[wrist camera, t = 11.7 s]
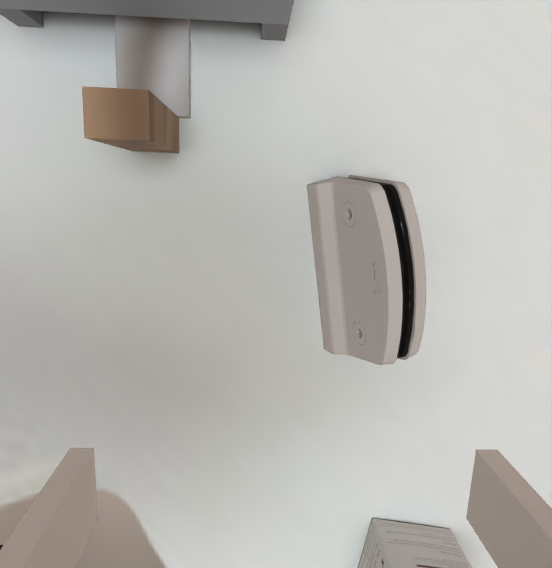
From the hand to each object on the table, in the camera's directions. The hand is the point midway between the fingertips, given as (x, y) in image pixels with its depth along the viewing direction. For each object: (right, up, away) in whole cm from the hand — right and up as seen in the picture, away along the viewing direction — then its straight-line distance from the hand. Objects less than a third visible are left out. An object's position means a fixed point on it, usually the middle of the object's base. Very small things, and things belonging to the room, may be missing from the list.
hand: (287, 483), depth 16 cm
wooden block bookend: (-11, +28, +23) cm, 38 cm away
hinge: (+7, +9, +28) cm, 30 cm away
